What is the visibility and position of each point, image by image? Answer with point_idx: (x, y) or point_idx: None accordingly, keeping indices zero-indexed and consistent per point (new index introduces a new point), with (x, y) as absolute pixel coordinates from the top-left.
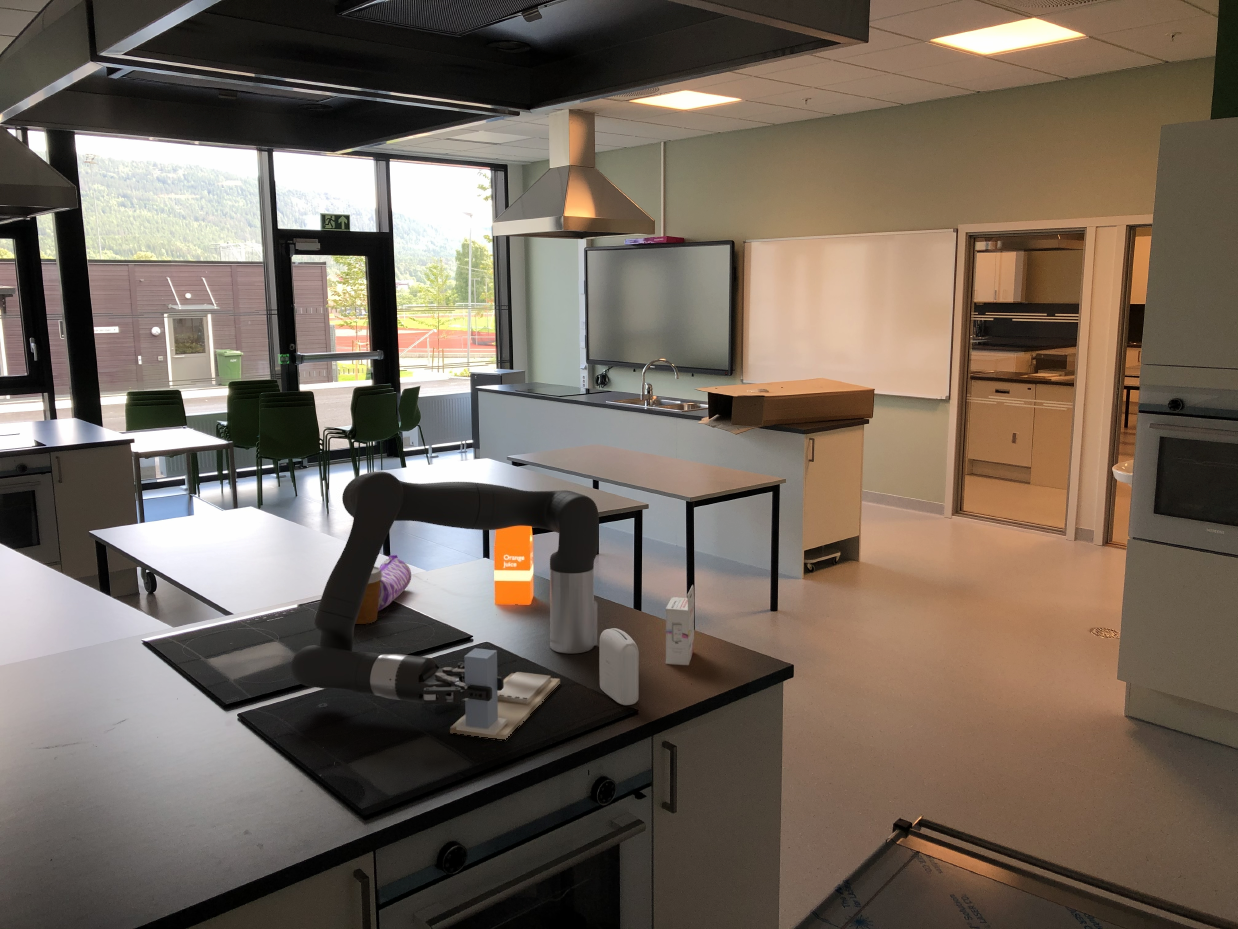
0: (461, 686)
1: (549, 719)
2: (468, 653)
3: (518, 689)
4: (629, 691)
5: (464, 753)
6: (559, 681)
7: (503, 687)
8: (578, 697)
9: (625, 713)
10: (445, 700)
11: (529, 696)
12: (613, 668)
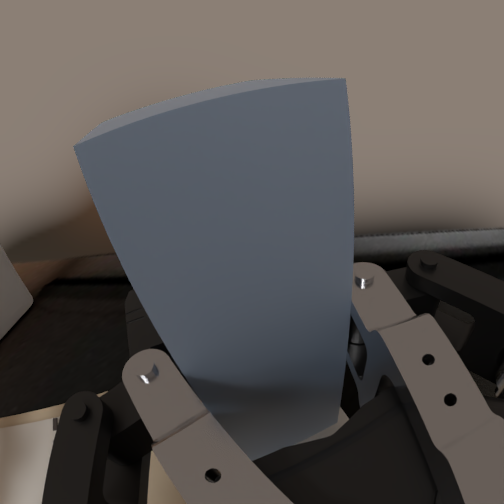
0: (390, 282)
1: (108, 356)
2: (265, 87)
3: (14, 470)
4: (20, 278)
5: None
6: None
7: None
8: (8, 373)
9: (56, 288)
10: (470, 327)
11: (41, 421)
12: None
